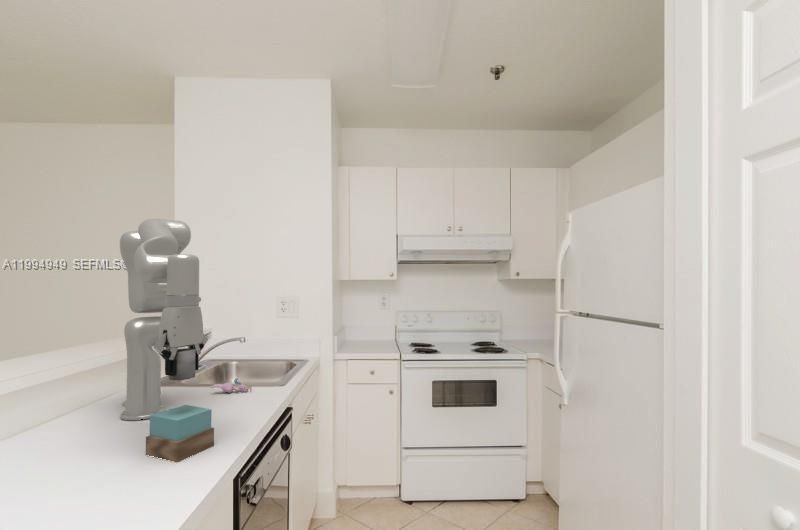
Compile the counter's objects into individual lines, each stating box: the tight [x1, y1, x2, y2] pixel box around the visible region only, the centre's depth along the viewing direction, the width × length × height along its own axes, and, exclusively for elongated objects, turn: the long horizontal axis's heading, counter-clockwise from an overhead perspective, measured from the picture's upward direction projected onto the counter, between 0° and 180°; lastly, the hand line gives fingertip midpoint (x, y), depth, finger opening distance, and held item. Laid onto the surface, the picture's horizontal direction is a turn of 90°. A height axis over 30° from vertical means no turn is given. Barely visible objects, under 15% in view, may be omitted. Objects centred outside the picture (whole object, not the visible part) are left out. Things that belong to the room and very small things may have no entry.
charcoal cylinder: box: [168, 347, 196, 381], centre depth 109 cm, size 6×6×7 cm
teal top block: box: [149, 404, 212, 441], centre depth 109 cm, size 10×10×5 cm
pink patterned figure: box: [210, 377, 253, 394], centre depth 165 cm, size 6×6×15 cm
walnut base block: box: [145, 426, 215, 463], centre depth 108 cm, size 11×11×5 cm
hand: (182, 372), depth 109 cm, fingers closed on charcoal cylinder, 6 cm apart
